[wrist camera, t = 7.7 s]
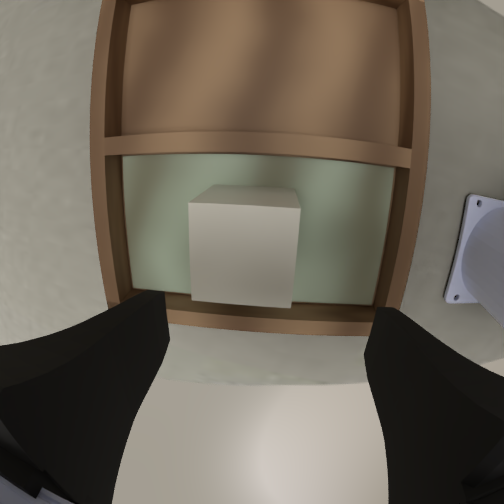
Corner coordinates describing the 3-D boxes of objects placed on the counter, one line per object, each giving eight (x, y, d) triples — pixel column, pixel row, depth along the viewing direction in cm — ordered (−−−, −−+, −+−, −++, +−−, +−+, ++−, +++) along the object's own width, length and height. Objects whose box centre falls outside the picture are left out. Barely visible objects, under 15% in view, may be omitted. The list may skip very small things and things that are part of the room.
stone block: (294, 188, 16) (300, 208, 12) (288, 263, 18) (290, 308, 13) (213, 184, 17) (188, 202, 12) (213, 258, 18) (191, 300, 13)
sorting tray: (404, 5, 12) (422, -12, 10) (379, 311, 20) (391, 335, 17) (126, 1, 14) (105, -14, 11) (127, 293, 21) (109, 314, 18)
